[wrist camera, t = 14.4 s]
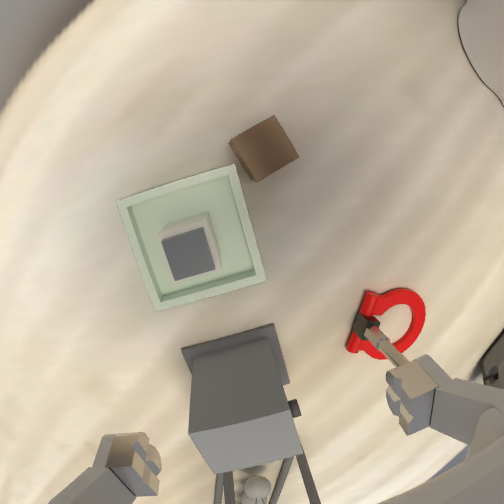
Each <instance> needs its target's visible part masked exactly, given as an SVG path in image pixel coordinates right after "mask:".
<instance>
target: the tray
mask: <svg viewBox="0 0 504 504" xmlns="http://www.w3.org/2000/svg"><path fill="white" fill-rule="evenodd" d="M116 203H117V207H118V210H119V213H120V216H121V219H122V222H123V225H124V228H125V231H126V234H127V237H128V240H129V243H130V246H131V249H132V251H133V254H134V257H135V260H136V262H137V265H138V268H139V271H140V273H141V276H142V279H143V281H144V284H145V286H146V289H147V292H148V294H149V297H150V299H151V302H152V304H153V307H154V309H155V311H156V312H158V311H162V310H165V309H169V308H173V307H176V306H180V305H183V304H187V303H191V302H194V301H198V300H201V299H205V298H209V297H212V296H216V295H219V294H223V293H226V292H230V291H233V290H237V289H240V288H244V287H247V286H250V285H254V284H257V283H261V282H264V281H267V279H266V275H265V272H264V268H263V264H262V261H261V257H260V253H259V250H258V246H257V242H256V239H255V235H254V231H253V228H252V224H251V221H250V217H249V213H248V210H247V206H246V202H245V199H244V195H243V192H242V188H241V184H240V181H239V177H238V174H237V170H236V166H235V164H232V165H228V166H224V167H221V168H217V169H214V170H211V171H207V172H204V173H200V174H197V175H194V176H191V177H187V178H184V179H181V180H178V181H175V182H171V183H168V184H165V185H162V186H159V187H156V188H153V189H150V190H147V191H144V192H141V193H138V194H135V195H133V196H130V197H127V198H124V199H121V200H119V201H116ZM207 211H208V213H209V216H210V219H211V223H212V226H213V229H214V233H215V236H216V239H217V243H218V246H219V249H220V253H221V267H222V270H219V271H216V272H212V273H209V274H205V275H202V276H198V277H195V278H191V279H188V280H184V281H181V282H177V283H174V284H173V283H172V280H171V277H170V274H169V271H168V269H167V266H166V263H165V260H164V257H163V254H162V251H161V248H160V245H159V242H158V239H157V236H156V235H157V234H158V233H159V232H160V231H161V229H162V228H163V227H164V226H165V225H166V224H167V223H170V222H174V221H177V220H180V219H183V218H187V217H190V216H193V215H197V214H200V213H203V212H207Z"/></svg>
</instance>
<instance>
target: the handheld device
mask: <svg viewBox="0 0 504 504" xmlns="http://www.w3.org/2000/svg"><path fill="white" fill-rule="evenodd" d="M481 364H482V374H483V381H484V385H487V386H491V387H496V388H500V389H504V333H503V334H502V335H501V337H500V338H499V339H498V340H497V342H496V343H495V344H494V345H493V347H492V348H491V349H490V350H489V351H488V352H487V354H486V355H485V356H484V357H483V359H482V362H481Z"/></svg>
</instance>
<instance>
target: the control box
mask: <svg viewBox="0 0 504 504" xmlns="http://www.w3.org/2000/svg"><path fill="white" fill-rule="evenodd" d="M182 354H183V356H184V358H185V360H186V363H187V365H188V367H189V369H190V371H191V374H192V383H191V397H190V413H189V429H188V434H189V436H190V437H191V439H192V441H193V442H194V444H195V446H196V447H197V449H198V450H199V452H200V453H201V455H202V457H203V458H204V460H205V461H206V463H207V464H208V466H209V467H210V469H211V470H212V472H213V473H214V474H219V473H224V472H230V471H235V470H240V469H244V468H249V467H253V466H258V465H262V464H266V463H270V462H274V461H278V460H282V459H285V458H289V457H292V456H296V455H299V454H303V451H302V447H301V444H300V441H299V437H298V434H297V431H296V427H295V424H294V421H293V418H295V417H298V416H301V412H300V409H299V405H298V402H297V400H296V399H294V400H291V401H287V398H286V395H285V392H284V388H283V385H286V384H289V383H290V381H289V377H288V374H287V370H286V366H285V363H284V359H283V356H282V352H281V348H280V345H279V341H278V338H277V334H276V330H275V327H274V324H269V325H266V326H262V327H259V328H256V329H252V330H249V331H245V332H242V333H238V334H234V335H231V336H227V337H224V338H220V339H216V340H212V341H209V342H205V343H201V344H197V345H193V346H189V347H185V348H182Z"/></svg>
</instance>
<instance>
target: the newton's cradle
mask: <svg viewBox="0 0 504 504" xmlns="http://www.w3.org/2000/svg"><path fill="white" fill-rule="evenodd" d="M300 444H301V443H300ZM301 447H302V445H301ZM302 451H303V454H299V455H296V458H297V461H298V464H299V468H300V471H301V474H302V478H303V481H304V484H305V488H306V491H307V494H308V498H309V501H310V504H321V502H320V499H319V496H318V493H317V490H316V487H315V484H314V481H313V478H312V475H311V472H310V469H309V466H308V463H307V459H306V456H305V453H304V450H303V447H302ZM293 457H294V456H292V457H289V458H285V460H284V463H283V466H282V469H281V472H280V475H279V478H278V481H277V484H276V487H275V490H274V492H273V495H272V498H271V501H270V504H276V503H277V501H278V498H279V496H280V493H281V490H282V488H283V485H284V482H285V480H286V477H287V474H288V472H289V469H290V466H291V463H292V460H293ZM223 485H224V496H225V504H236V502H235V493H234V483H233V473H232V471H230V472H224V473H219V474H217V480H216V490H215V500H214V504H221V500H222V493H223ZM270 491H271V484H270V482H269V480H268V479H266V478H265V477H263V476H253V477H250V478H249V479H247V480H246V482H245V484H244V492H245V493H244V494H243V495H242V497H241V504H266V503H267V498H266V497H267V496H268V495H269V493H270Z"/></svg>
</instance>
